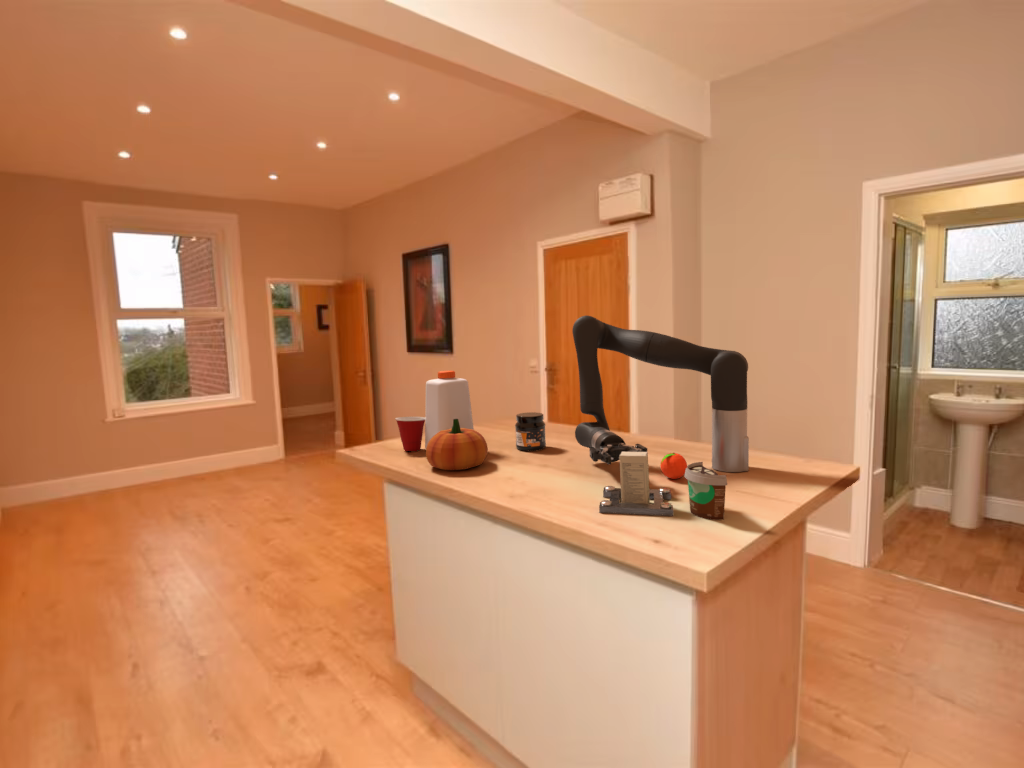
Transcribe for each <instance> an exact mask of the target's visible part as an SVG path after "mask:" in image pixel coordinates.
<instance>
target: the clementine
mask: <svg viewBox="0 0 1024 768" xmlns="http://www.w3.org/2000/svg"><path fill="white" fill-rule="evenodd" d="M659 466H660V470H661V472H662V474H663V475H664V476H665V477H667V478H668V479H672V480H677V479H680V478H682V477H683V476H684V475H685V471H686V468H687V466H688V463H687V460H686V459H685V458H684V456H683V455H681V454H679V453H676V452H670V453H667V454H666V455H664V456H663V458H662V459H661V461H660V465H659Z"/></svg>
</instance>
